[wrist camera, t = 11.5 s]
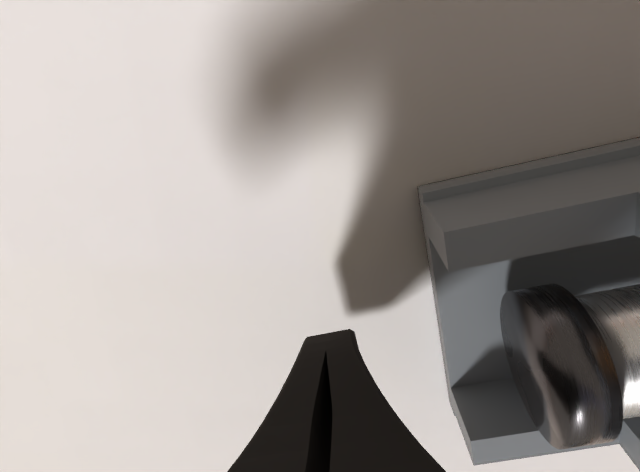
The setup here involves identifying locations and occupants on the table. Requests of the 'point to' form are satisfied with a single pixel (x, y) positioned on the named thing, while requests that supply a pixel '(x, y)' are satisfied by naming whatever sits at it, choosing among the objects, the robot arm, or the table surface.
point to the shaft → (574, 360)
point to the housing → (524, 275)
